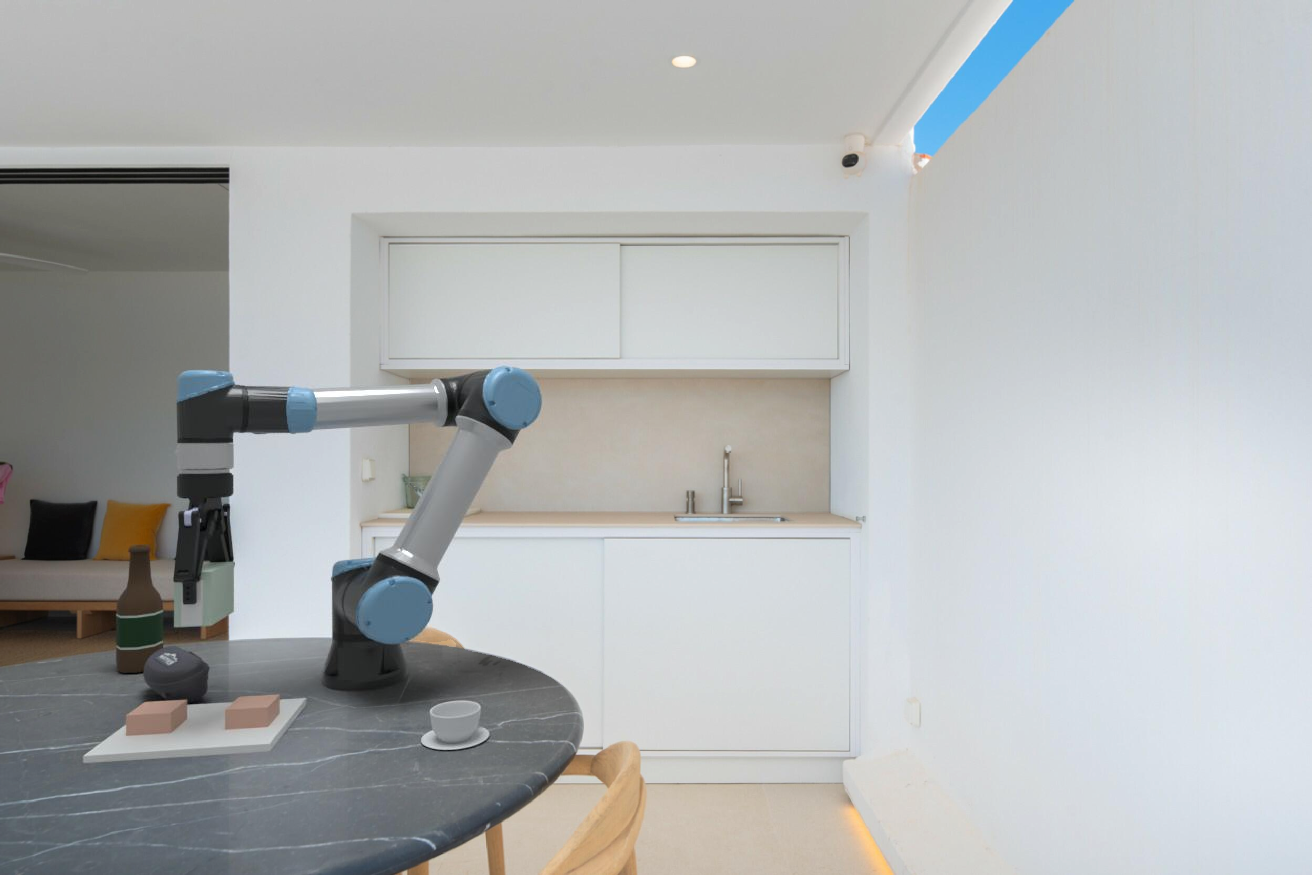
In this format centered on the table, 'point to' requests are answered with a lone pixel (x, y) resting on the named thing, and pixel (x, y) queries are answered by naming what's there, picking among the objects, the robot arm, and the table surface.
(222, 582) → the key block
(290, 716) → the slot base
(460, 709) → the teacup
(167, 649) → the glasses case
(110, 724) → the table surface
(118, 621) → the beer bottle
